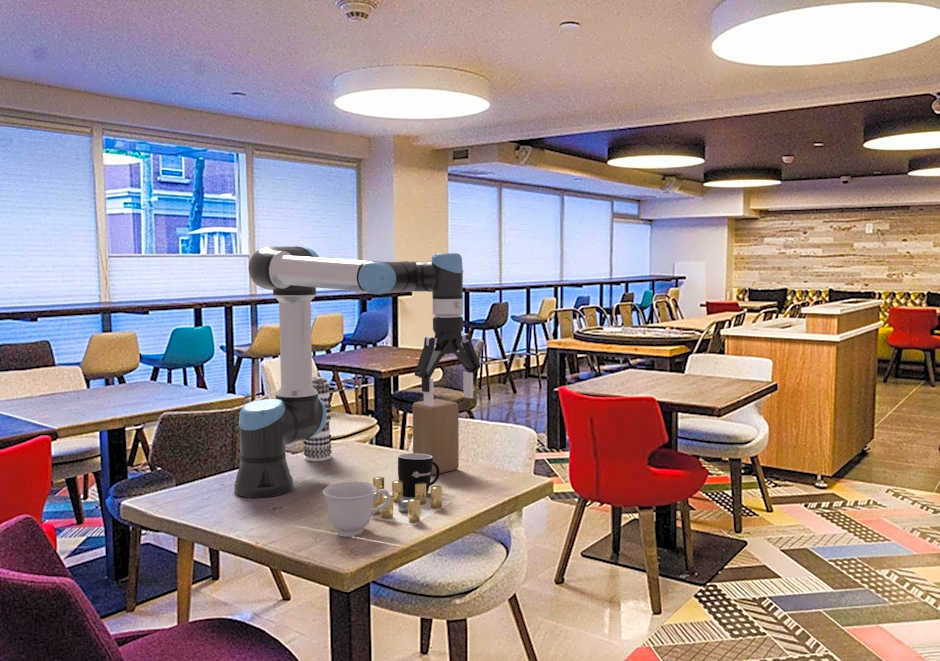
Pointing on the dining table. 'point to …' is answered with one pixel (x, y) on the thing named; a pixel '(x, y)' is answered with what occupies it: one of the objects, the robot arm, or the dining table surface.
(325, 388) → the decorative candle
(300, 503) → the dining table surface
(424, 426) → the block
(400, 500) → the silver dome
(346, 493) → the teacup
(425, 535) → the dining table surface
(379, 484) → the spacers
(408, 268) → the robot arm
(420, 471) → the mug
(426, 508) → the tray
